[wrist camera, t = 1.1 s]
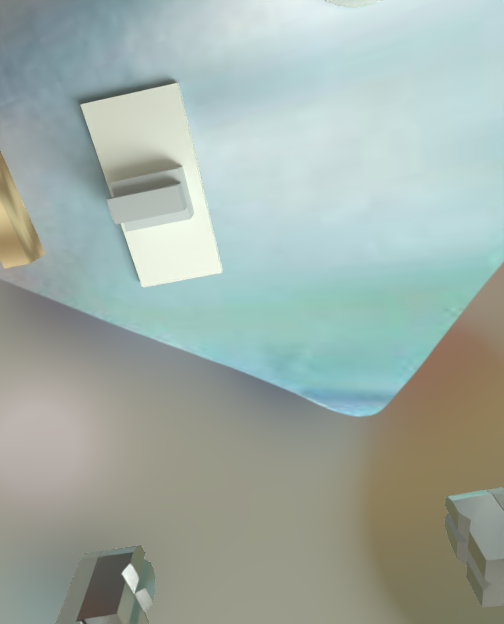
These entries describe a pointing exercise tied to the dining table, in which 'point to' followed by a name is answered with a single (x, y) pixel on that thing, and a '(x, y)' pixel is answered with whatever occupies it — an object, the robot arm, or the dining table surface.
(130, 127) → the fulcrum stand
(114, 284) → the dining table surface
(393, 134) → the dining table surface
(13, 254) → the pine bar
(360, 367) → the dining table surface
